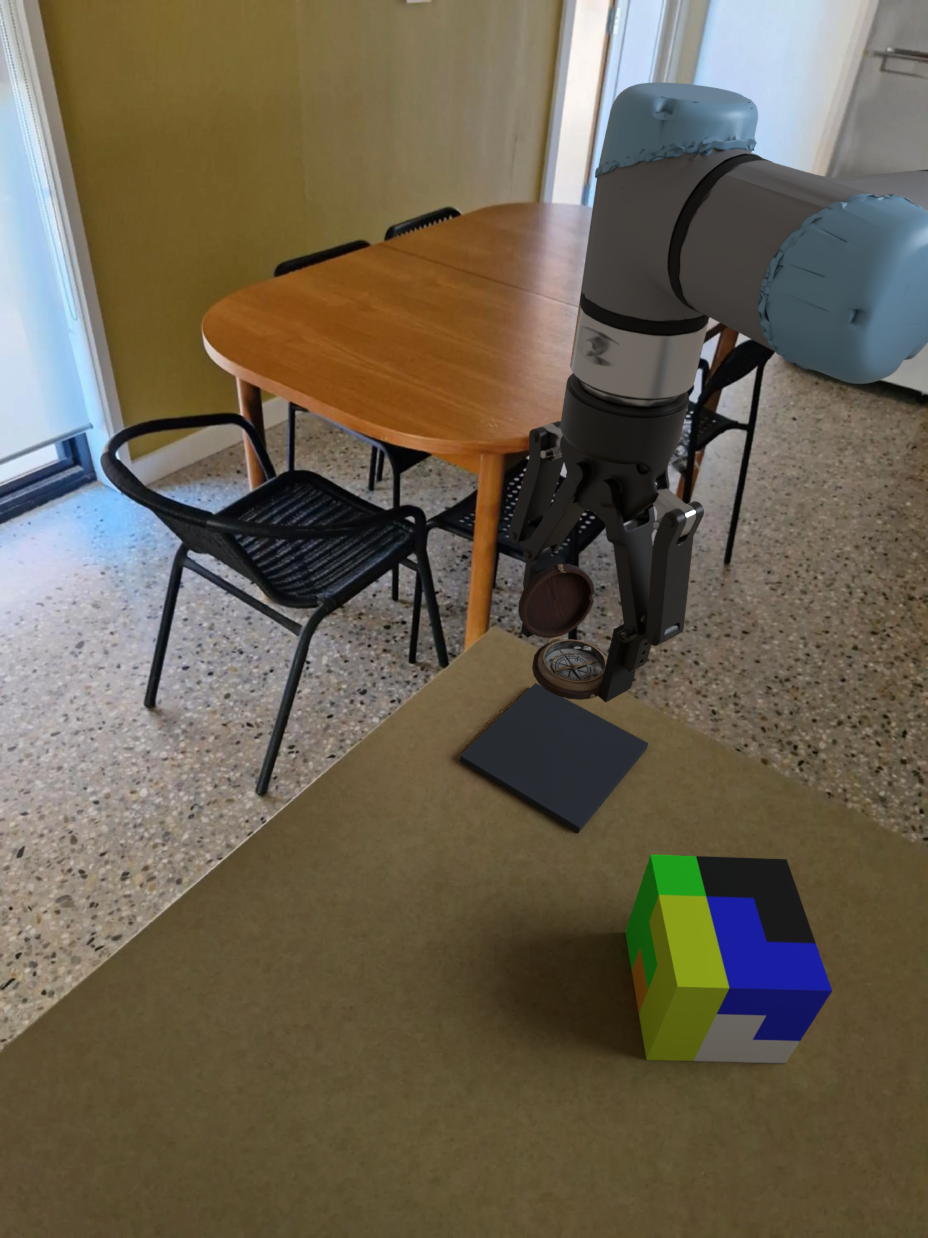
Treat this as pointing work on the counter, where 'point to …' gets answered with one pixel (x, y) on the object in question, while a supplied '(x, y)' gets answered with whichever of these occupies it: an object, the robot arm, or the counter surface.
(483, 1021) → the counter surface
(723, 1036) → the puzzle toy
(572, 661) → the compass
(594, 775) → the mat
